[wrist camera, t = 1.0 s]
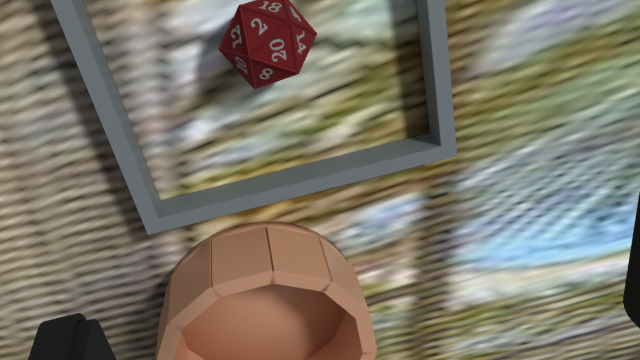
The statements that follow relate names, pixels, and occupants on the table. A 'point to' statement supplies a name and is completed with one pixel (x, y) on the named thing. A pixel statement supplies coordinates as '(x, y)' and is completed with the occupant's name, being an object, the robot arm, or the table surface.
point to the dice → (267, 41)
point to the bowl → (265, 299)
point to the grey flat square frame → (277, 183)
